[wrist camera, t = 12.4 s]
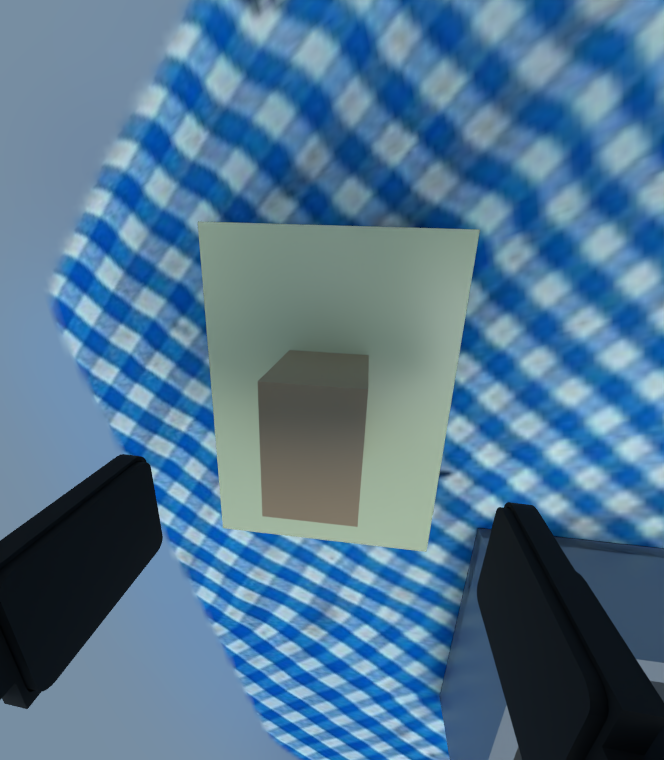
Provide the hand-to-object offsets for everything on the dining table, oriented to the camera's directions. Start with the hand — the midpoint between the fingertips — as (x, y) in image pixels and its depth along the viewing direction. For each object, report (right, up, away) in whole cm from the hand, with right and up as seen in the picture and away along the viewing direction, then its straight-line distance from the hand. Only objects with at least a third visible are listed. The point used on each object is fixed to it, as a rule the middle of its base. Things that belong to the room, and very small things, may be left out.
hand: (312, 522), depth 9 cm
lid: (+1, +3, +11) cm, 11 cm away
